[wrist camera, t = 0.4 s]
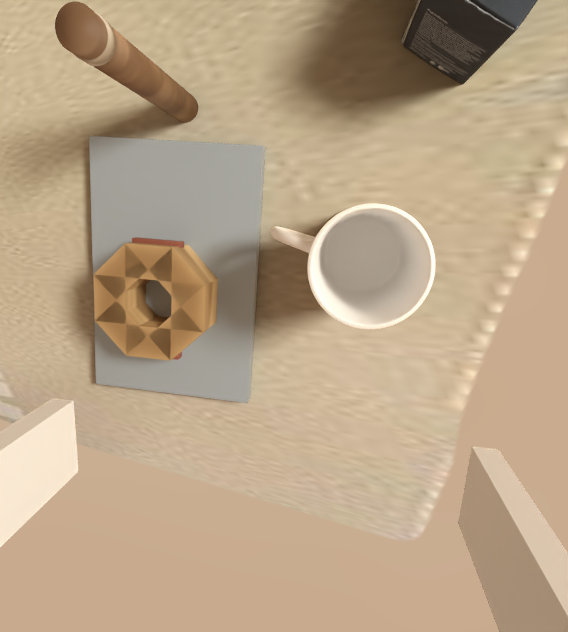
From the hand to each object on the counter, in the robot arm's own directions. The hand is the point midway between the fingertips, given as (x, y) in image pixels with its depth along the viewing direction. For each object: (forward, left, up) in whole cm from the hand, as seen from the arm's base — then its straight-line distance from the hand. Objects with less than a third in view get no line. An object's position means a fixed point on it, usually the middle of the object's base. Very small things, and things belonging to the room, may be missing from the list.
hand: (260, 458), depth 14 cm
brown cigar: (-17, -13, -27) cm, 34 cm away
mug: (-6, +2, -27) cm, 28 cm away
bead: (0, -14, -26) cm, 29 cm away
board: (-2, -14, -27) cm, 30 cm away
